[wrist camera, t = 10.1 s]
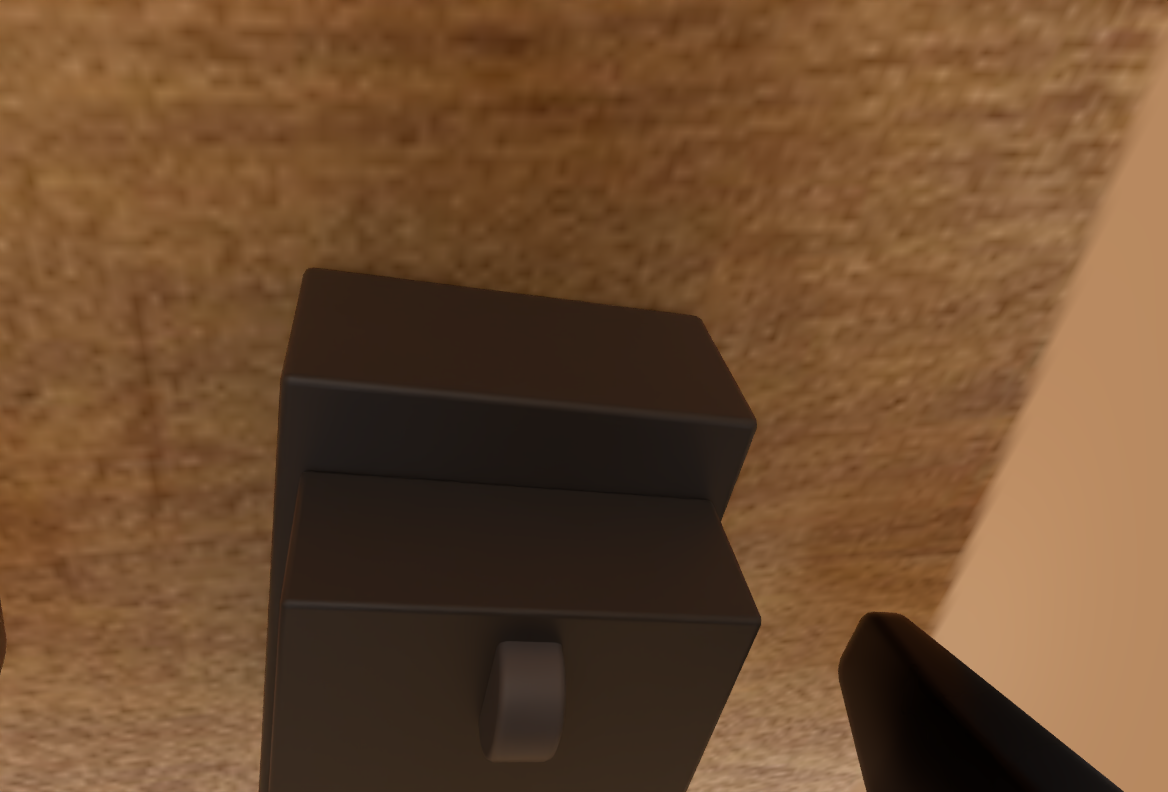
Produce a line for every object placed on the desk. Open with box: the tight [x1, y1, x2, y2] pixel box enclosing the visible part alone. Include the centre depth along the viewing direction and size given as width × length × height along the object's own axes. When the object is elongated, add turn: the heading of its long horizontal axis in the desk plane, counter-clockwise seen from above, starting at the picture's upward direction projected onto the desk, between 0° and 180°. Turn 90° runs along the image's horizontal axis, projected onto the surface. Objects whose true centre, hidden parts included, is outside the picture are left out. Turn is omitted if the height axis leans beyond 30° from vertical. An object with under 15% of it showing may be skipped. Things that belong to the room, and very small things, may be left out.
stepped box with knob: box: [259, 268, 761, 792], centre depth 9 cm, size 4×6×4 cm, turn 167°
